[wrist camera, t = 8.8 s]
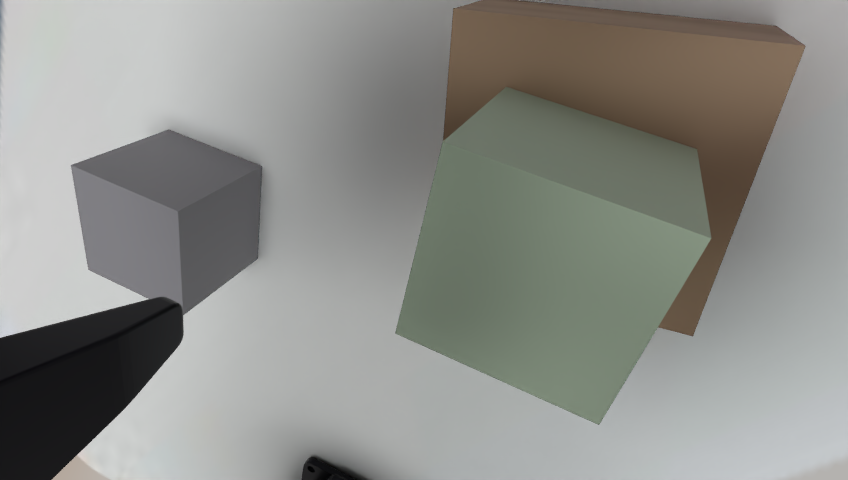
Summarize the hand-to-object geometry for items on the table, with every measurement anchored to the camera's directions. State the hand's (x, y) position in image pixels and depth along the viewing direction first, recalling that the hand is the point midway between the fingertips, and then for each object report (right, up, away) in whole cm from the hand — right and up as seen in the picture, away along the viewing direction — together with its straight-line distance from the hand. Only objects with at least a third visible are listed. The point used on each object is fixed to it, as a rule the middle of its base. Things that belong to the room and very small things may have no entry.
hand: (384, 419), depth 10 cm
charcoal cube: (-9, +5, +16) cm, 19 cm away
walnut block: (+6, +7, +8) cm, 12 cm away
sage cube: (+5, +4, +5) cm, 8 cm away
